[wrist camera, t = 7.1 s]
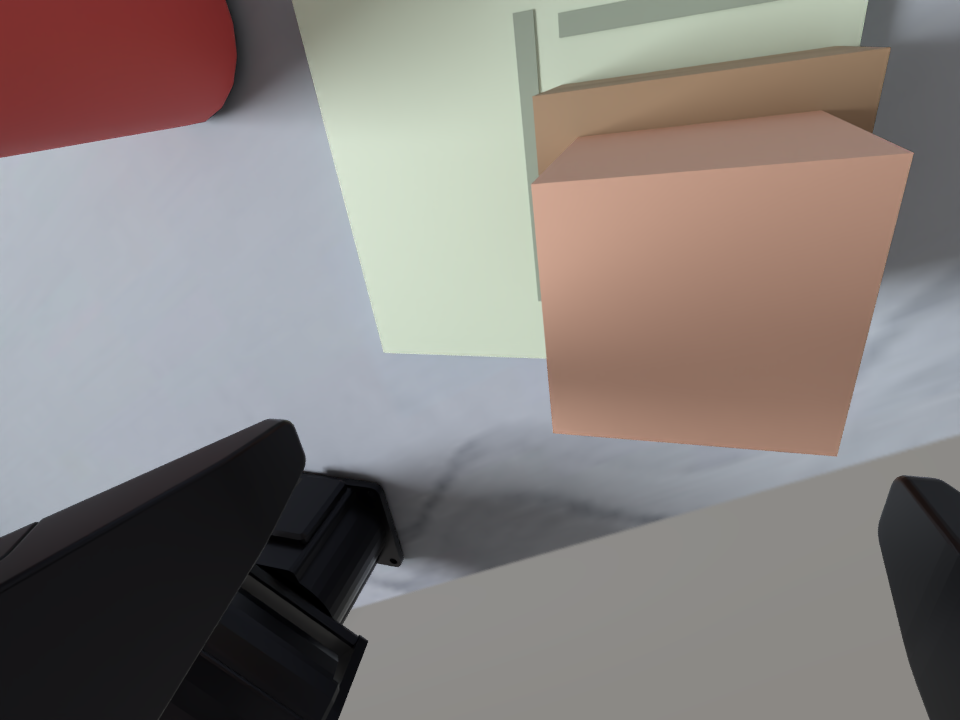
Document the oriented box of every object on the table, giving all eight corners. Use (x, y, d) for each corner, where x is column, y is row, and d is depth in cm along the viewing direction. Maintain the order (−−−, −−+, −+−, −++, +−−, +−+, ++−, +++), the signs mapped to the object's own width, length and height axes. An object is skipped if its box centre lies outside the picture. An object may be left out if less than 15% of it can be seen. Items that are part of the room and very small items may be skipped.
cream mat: (793, 356, 18) (798, 368, 17) (391, 344, 23) (383, 353, 23) (883, -135, 12) (897, -146, 11) (305, 1, 17) (290, -1, 16)
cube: (785, 326, 13) (837, 456, 9) (586, 325, 15) (553, 433, 11) (821, 110, 11) (914, 152, 7) (577, 136, 12) (530, 183, 8)
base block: (793, 299, 16) (822, 363, 13) (573, 300, 19) (552, 354, 16) (836, 45, 13) (891, 47, 10) (561, 84, 15) (532, 96, 12)
